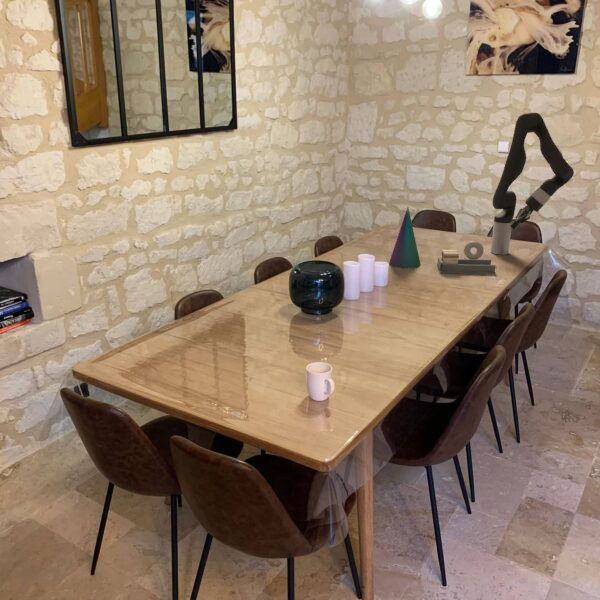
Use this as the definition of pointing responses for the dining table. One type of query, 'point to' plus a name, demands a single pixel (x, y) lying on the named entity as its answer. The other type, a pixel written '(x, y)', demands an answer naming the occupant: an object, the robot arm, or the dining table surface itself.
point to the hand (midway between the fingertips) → (511, 227)
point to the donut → (475, 245)
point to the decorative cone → (405, 246)
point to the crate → (450, 256)
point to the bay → (467, 267)
